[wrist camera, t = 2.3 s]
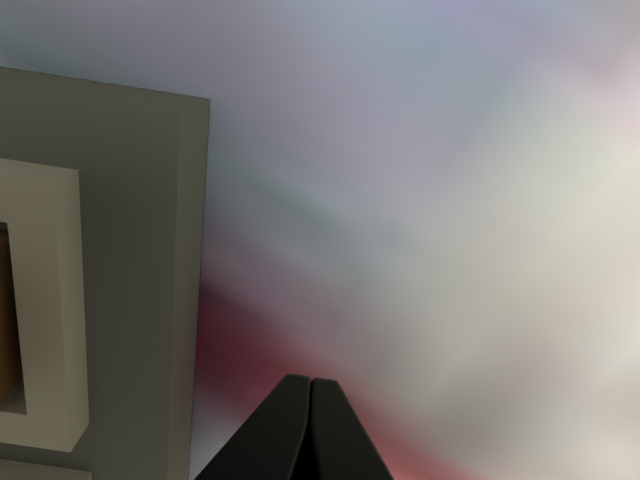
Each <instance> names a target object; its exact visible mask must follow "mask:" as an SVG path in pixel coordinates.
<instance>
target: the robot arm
mask: <svg viewBox="0 0 640 480" xmlns="http://www.w3.org/2000/svg"><path fill="white" fill-rule="evenodd" d="M194 480H394V478H393V476H392V475H391V473H390V471H389V470H388V468H387V466H386V464H385V463H384V461H383V459H382V457H381V456H380V454H379V452H378V451H377V449H376V447H375V445H374V444H373V442H372V440H371V438H370V437H369V435H368V433H367V431H366V430H365V428H364V426H363V425H362V423H361V421H360V419H359V418H358V416H357V414H356V412H355V411H354V409H353V407H352V406H351V404H350V402H349V400H348V399H347V397H346V395H345V393H344V392H343V390H342V388H341V387H340V385H339V383H338V382H337V381H335V380H330V379H323V378H314V379H313V380H312V382H311V378H310V377H308V376H303V375H296V374H287V375H286V376H285V377H284V378H283V379H282V380H281V381H280V382H279V383H278V384H277V386H276V387H275V388H274V389H273V390H272V391H271V392H270V394H269V395H268V396H267V397H266V398H265V399H264V400H263V402H262V403H261V404H260V405H259V406H258V407H257V408H256V410H255V411H254V412H253V413H252V414H251V415H250V416H249V418H248V419H247V420H246V421H245V422H244V423H243V424H242V426H241V427H240V428H239V429H238V430H237V431H236V432H235V434H234V435H233V436H232V437H231V438H230V439H229V440H228V442H227V443H226V444H225V445H224V446H223V447H222V448H221V450H220V451H219V452H218V453H217V454H216V455H215V456H214V458H213V459H212V460H211V461H210V462H209V463H208V464H207V466H206V467H205V468H204V469H203V470H202V471H201V472H200V474H199V475H198V476H197V477H196V478H195V479H194Z"/></svg>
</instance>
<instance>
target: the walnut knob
mask: <svg viewBox="0 0 640 480" xmlns="http://www.w3.org/2000/svg"><path fill="white" fill-rule="evenodd" d="M22 378H23V370H22V360H21V351H20V341H19V331H18V321H17V312H16V302H15V292H14V283H13V273H12V263H11V253H10V244H9V234H8V231H5V230H0V401H1V400H2V399H3V398H4V397H5V396H6V395H7V394H8V393H9V392H10V391H11V390H12V389H13V388H14V386H15V385H16V384H17V383H18V382H19V381H20V380H21V379H22Z"/></svg>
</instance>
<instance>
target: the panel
mask: <svg viewBox="0 0 640 480" xmlns="http://www.w3.org/2000/svg"><path fill="white" fill-rule="evenodd" d="M209 114H210V99H206V98H199V97H193V96H186V95H180V94H173V93H167V92H160V91H154V90H147V89H141V88H134V87H128V86H121V85H115V84H108V83H102V82H95V81H89V80H82V79H76V78H69V77H63V76H57V75H50V74H44V73H37V72H31V71H24V70H18V69H11V68H5V67H0V230H5V231H8V234H9V244H10V253H11V263H12V273H13V283H14V292H15V302H16V312H17V321H18V331H19V341H20V351H21V360H22V370H23V378H22V379H21V380H20V381H19V382H18V383H17V384H16V385H15V386H14V388H13V389H12V390H11V391H10V392H9V393H8V394H7V395H6V396H5V397H4V398H3V399H2V400H1V401H0V480H188V476H189V458H190V441H191V424H192V407H193V389H194V372H195V355H196V338H197V321H198V303H199V286H200V269H201V252H202V235H203V217H204V200H205V183H206V166H207V148H208V131H209Z"/></svg>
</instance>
